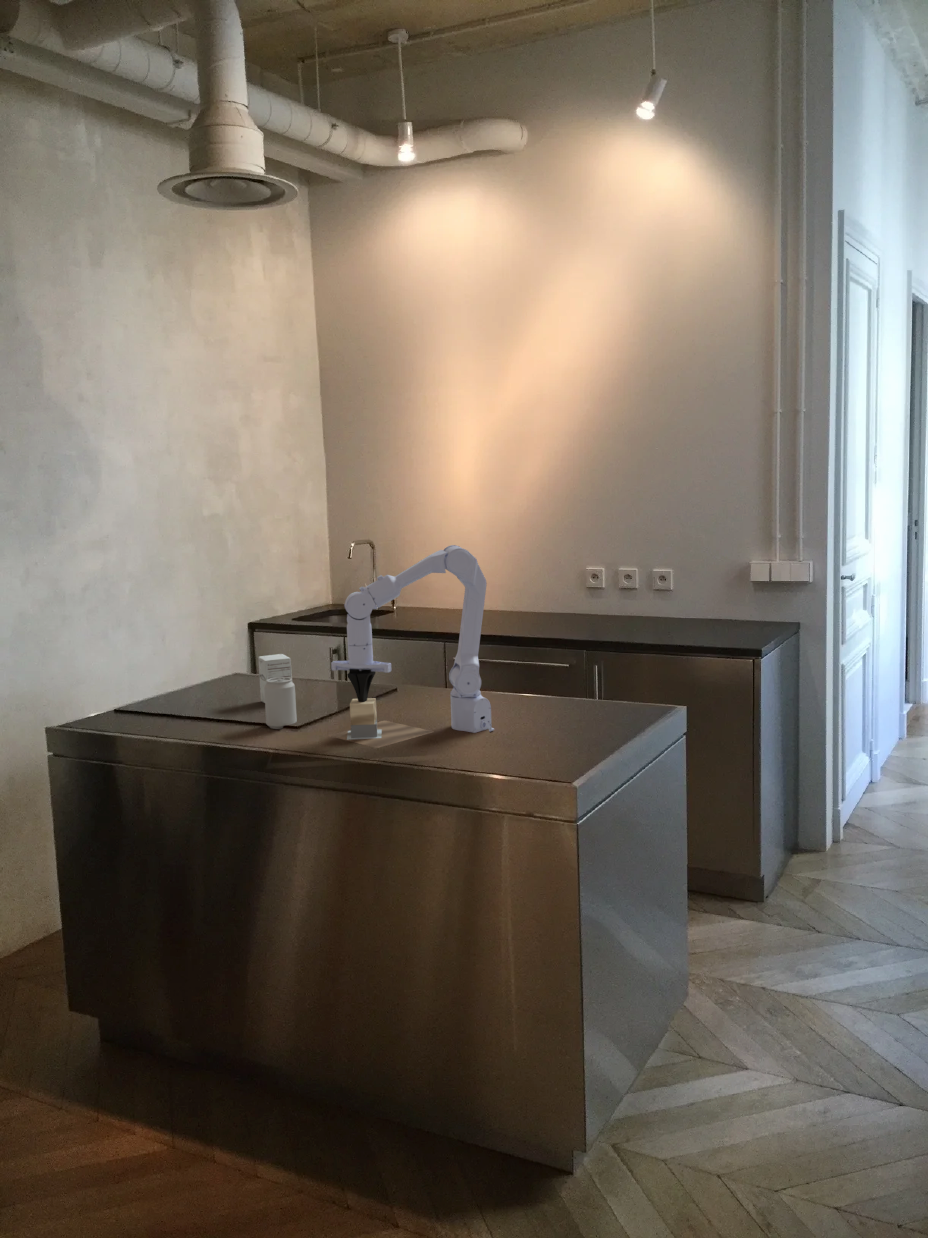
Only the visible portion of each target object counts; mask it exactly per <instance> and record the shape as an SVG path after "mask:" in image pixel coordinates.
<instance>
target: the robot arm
mask: <svg viewBox="0 0 928 1238" xmlns="http://www.w3.org/2000/svg"><path fill="white" fill-rule="evenodd" d="M446 571H448V572H449V573H450V574H452V575H454V576H455V577H457V579H458V580H459V582H460V583H461V584H462V585H463V586H464V593H463V595H464V597H463V603H462V611H461V620H460V627H459V628H460V630H459V638H458V647H457V651H456V652H457V653H456V655H455V657H454V662H453V666H452V667H451V669H450V670H449V674H448V679H449V680H448V681H449V682H450V685H452V690H451V691H450V692H449V693H450V697H449V698H450V720H451V721H450V722H451V729H453V730H455V731H460V732H461V731H464V732H469V733H473V734H476V733H479V732H482V731H486V730H488V732H490V733H491V732H492V731H493V732H494V731H495V728H494V727H492V706H491V702H490V700H489V699H488V698H486V697H484V696H483V695H482V692H481V690H480V689H481V687H482V678H481V676H480V661H479V652H480V651H479V650H480V642H481V634H482V626H483V625H482V623H483V617H484V609H485V599H486V594H487V593H486V592H487V584H488V583H487V579H486V577H485V575H484V573H483V571H482V568H481V567H480V565H479V563H478V560H477V557H475V556H474V555H473V554H472V553H471V552H470V551H469V550H468V549H465V548H463V547H461V546H459V545H456V544H452V545H448V546H447V547H444V549H439V550H437V551H434V552H432V553H431V554H429V555H428V556H426V557H424V558H423V559H421V560H420V561H418V562H416V563H414V564H413V565H412V566H410V567H408V568H406V569H405V570H403V571H402V572H400V573H398V574H397V575H395V576H394V575H390V574H385V575H384V576H383V575H382V574H379V576H377V577H376V580H375V581H373V582H372V583H370V584H368V585H367V586H360V587H359V590H360V591H355V592H352V593H349V595H347V597H346V599H345V601H344V604H343V606H344V609H345V611H346V612H347V614H346V622H347V624H346V636H347V657H348V660H334V661H332V662H330V664H331V665H330V666H331V671H349V672H348V673H347V674H346V675H347V678H348V679H349V681H350V683H351V684H352V686H353V689H354V691H355V694H356V697H357V698H356V699H358V702H365V701H367V698H369V697H368V696H369V691H370V687H371V685H372V682H373V680H374V677H375V675H376V672H378V673H379V672H380V673H381V672H382V673H384V674H385V673H391V672H392V663H391V662H383V661H377V660H374V652H373V651H374V650H373V633H372V632H373V629H372V623H371V614H372V611H373V610H377V609H380V608H381V607H383V606H384V605H386V604H388V603H390V602H392V601H393V600H395V599H397V598H398V597H400V595H401V593H402V592H401V591H402V589H404V588H405V587H408V586H409V585H411V584H413V583H415V582H417V581H418V580H421V579H423V578H424V577H427V576H428V575H430V574H446V573H447V572H446Z"/></svg>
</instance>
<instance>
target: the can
mask: <svg viewBox="0 0 928 1238" xmlns="http://www.w3.org/2000/svg"><path fill="white" fill-rule="evenodd" d="M291 680H292V681H291ZM264 694H265V703H264V708H265V725H267V726H268V727H269V728H270V729H274V730H282V729H283V728H284V727H285V726H288V725H294V724H296V723H297V722H298V721H297V720H298V718H297V717H298V716H297V702H296V701H297V700H296V698H297V697H296V685H295V683H294V682H293V678H292V679H291V678H289V677H276V678H270V679H268V680H267V684H266V685H265V686H264Z"/></svg>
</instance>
